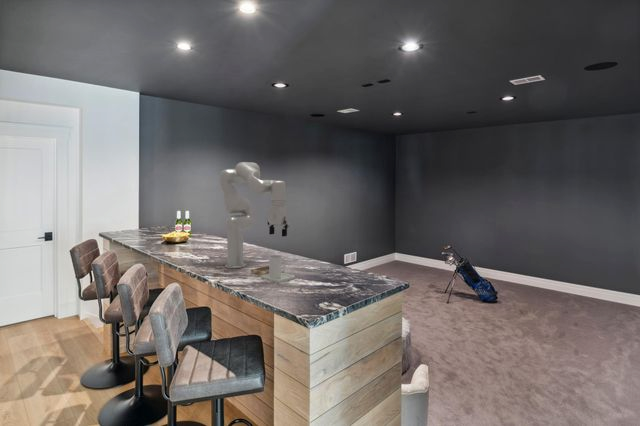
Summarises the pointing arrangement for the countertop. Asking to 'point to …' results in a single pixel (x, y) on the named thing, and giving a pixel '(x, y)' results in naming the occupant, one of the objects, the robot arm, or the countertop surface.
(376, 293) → the countertop surface
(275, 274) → the mug
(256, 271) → the holder frame
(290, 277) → the tray
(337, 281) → the countertop surface
